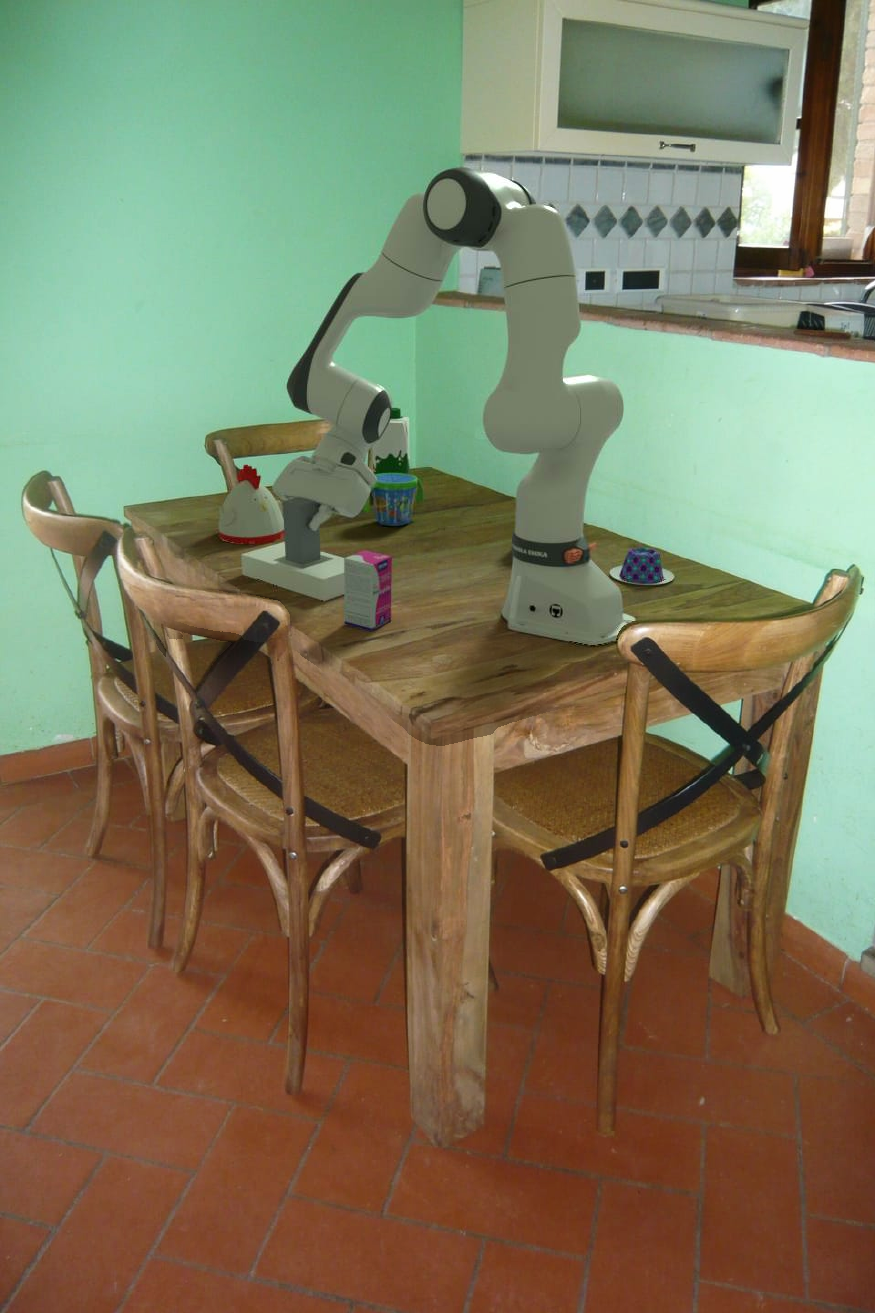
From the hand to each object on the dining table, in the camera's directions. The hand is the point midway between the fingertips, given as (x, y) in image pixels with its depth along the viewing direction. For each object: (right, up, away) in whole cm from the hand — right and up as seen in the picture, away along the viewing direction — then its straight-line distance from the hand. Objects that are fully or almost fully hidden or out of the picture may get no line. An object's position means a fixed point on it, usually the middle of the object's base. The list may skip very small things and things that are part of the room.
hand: (298, 525), depth 179 cm
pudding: (+64, -9, +8) cm, 65 cm away
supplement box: (+14, -18, -15) cm, 27 cm away
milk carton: (+14, +17, +66) cm, 70 cm away
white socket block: (0, -10, +4) cm, 10 cm away
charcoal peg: (0, -6, +3) cm, 7 cm away
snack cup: (+15, +6, +41) cm, 44 cm away
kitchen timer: (-14, +2, +31) cm, 35 cm away
